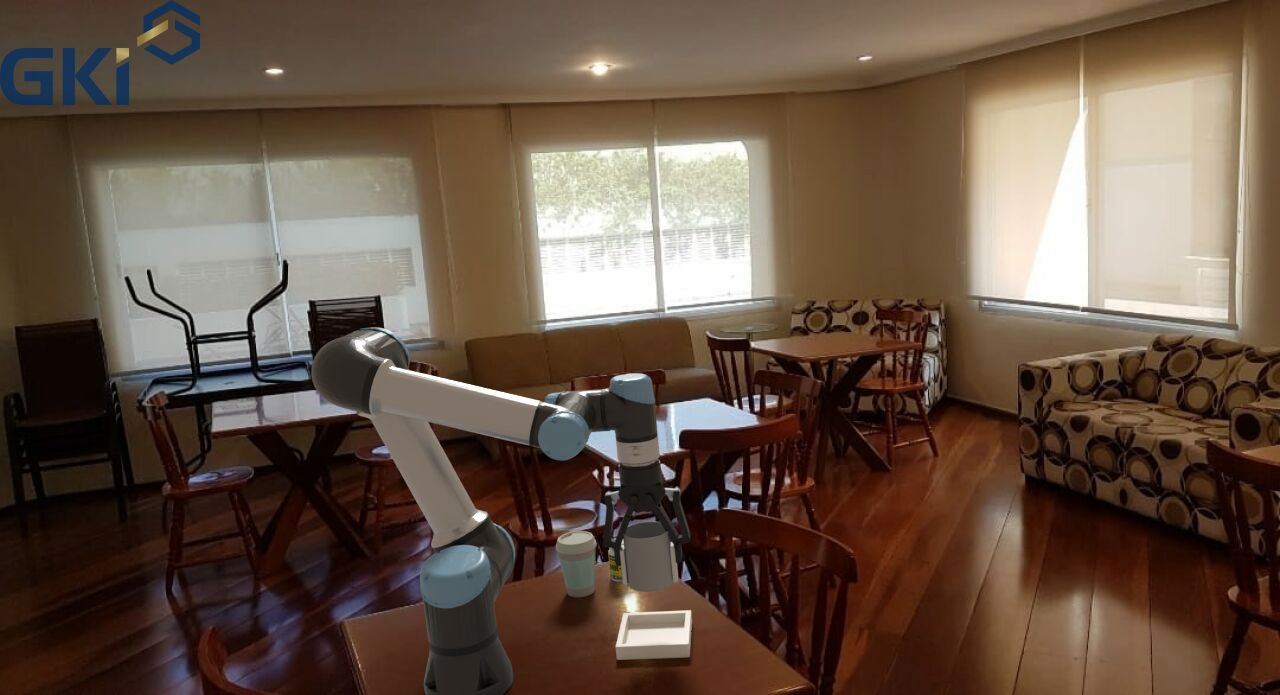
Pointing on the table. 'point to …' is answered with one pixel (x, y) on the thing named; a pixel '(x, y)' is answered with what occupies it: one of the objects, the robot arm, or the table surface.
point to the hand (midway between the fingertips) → (650, 580)
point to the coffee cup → (577, 562)
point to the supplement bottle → (614, 566)
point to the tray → (654, 635)
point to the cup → (648, 557)
